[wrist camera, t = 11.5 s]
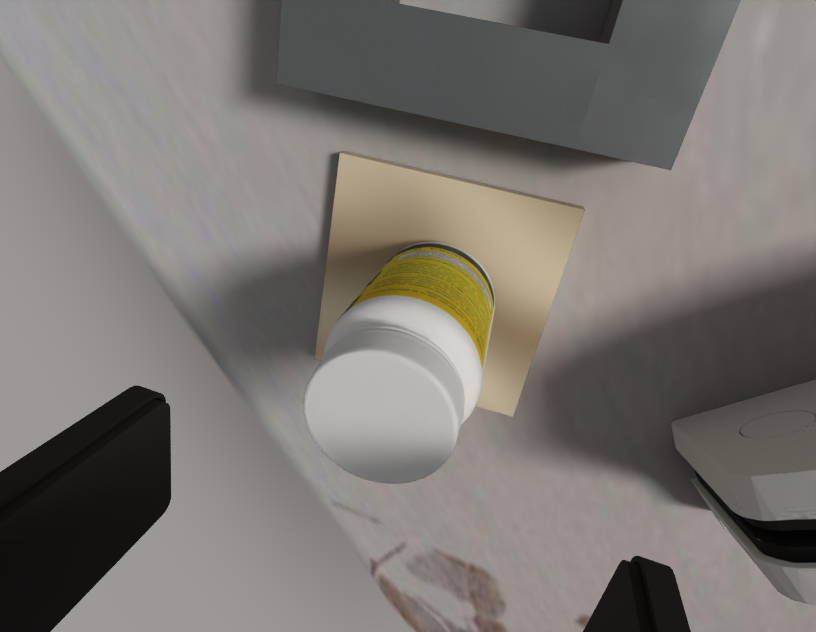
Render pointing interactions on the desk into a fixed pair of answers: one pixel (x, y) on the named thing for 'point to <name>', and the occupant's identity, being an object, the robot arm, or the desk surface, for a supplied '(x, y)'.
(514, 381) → the pad
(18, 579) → the robot arm
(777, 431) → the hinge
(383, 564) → the desk surface
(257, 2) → the desk surface
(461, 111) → the socket block
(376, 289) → the supplement bottle
